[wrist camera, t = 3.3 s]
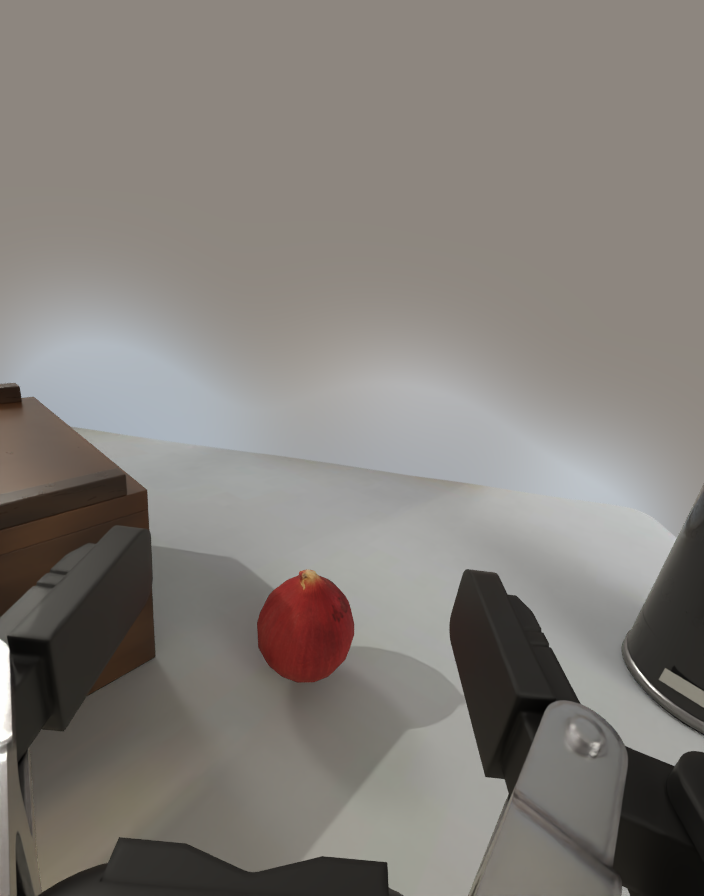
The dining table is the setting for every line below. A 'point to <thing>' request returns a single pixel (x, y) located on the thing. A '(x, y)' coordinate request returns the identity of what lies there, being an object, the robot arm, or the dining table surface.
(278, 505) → the dining table surface
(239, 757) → the dining table surface
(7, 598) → the shelf stand
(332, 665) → the onion
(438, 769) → the dining table surface
